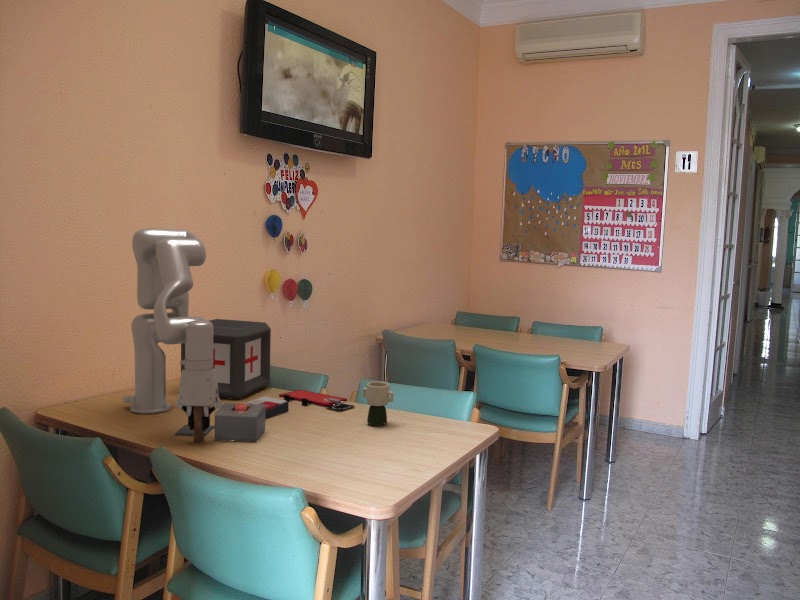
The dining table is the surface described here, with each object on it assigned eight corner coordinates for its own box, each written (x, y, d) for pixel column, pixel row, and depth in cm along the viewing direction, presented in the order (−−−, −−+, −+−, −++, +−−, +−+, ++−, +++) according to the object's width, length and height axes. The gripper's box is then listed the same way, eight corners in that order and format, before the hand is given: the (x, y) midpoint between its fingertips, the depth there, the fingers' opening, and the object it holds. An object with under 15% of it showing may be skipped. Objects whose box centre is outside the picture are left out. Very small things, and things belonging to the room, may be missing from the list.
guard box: (214, 440, 193) (214, 412, 193) (225, 429, 204) (225, 403, 204) (256, 441, 193) (256, 414, 192) (265, 430, 204) (265, 404, 203)
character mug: (397, 424, 216) (398, 384, 214) (387, 429, 209) (388, 388, 208) (367, 419, 220) (368, 379, 219) (356, 424, 214) (357, 383, 213)
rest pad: (174, 435, 197) (174, 433, 197) (185, 426, 206) (185, 424, 206) (205, 436, 197) (205, 434, 196) (214, 427, 205) (214, 425, 205)
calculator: (232, 406, 218) (263, 394, 231) (232, 418, 219) (263, 406, 232) (259, 411, 213) (289, 399, 226) (259, 424, 214) (289, 411, 227)
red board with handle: (336, 413, 226) (363, 406, 238) (336, 405, 226) (364, 398, 238) (271, 400, 243) (300, 393, 255) (271, 392, 243) (300, 385, 255)
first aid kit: (214, 380, 267) (214, 317, 265) (272, 386, 261) (273, 322, 258) (177, 395, 243) (177, 325, 241) (240, 402, 237) (241, 330, 234)
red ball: (233, 416, 197) (233, 406, 196) (236, 413, 200) (236, 403, 200) (245, 417, 196) (245, 406, 196) (248, 413, 200) (248, 403, 200)
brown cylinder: (191, 442, 191) (192, 400, 189) (195, 439, 194) (195, 398, 192) (202, 443, 191) (202, 401, 189) (205, 439, 194) (206, 398, 192)
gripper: (165, 366, 186) (165, 431, 188) (224, 368, 186) (224, 434, 188) (175, 361, 194) (174, 424, 196) (231, 363, 193) (231, 426, 195)
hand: (199, 428), depth 192 cm, fingers closed on brown cylinder, 3 cm apart
